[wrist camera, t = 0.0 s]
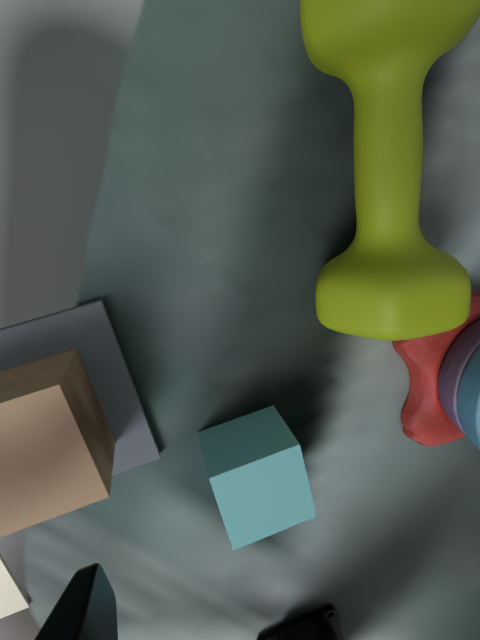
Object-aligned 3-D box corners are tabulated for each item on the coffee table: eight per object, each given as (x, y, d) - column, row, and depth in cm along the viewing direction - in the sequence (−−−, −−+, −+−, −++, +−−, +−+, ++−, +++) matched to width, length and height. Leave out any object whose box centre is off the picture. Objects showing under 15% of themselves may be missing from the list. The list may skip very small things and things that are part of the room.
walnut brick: (115, 442, 22) (109, 496, 18) (6, 480, 21) (-27, 547, 17) (76, 348, 20) (59, 384, 16) (-45, 385, 19) (-97, 434, 15)
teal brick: (288, 467, 26) (316, 516, 22) (218, 494, 26) (233, 550, 21) (273, 404, 25) (299, 444, 21) (197, 431, 24) (208, 478, 20)
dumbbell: (408, 301, 25) (505, 335, 18) (291, 321, 24) (351, 366, 17) (417, -4, 20) (553, -110, 14) (271, -5, 19) (343, -124, 12)
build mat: (160, 453, 24) (160, 458, 23) (-12, 515, 22) (-16, 522, 22) (101, 299, 20) (101, 301, 20) (-104, 358, 19) (-110, 362, 18)
